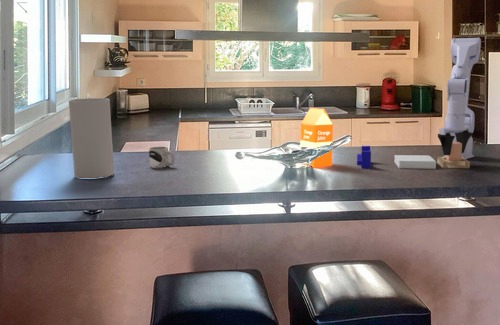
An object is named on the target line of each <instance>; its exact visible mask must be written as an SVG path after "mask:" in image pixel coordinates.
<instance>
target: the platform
mask: <svg viewBox="0 0 500 325" xmlns="http://www.w3.org/2000/svg"><path fill="white" fill-rule="evenodd" d="M394 164H395V166H397V168H398V169H428V170H429V169H430V170H431V169H434V170H436V169H437V161H436V160H435V159H434V158H433V157H431V155H426V154H425V155H424V154H423V155H419V154H418V155H417V154H416V155H413V154H412V155H411V154H409V155H407V154H406V155H405V154H404V155H403V154H401V155H399V154H394Z"/></svg>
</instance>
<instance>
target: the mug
mask: <svg viewBox="0 0 500 325" xmlns="http://www.w3.org/2000/svg"><path fill="white" fill-rule="evenodd" d="M169 155H170V157H171V161H169ZM148 156H149V160H148V161H149V167H150V166H154V167H164V166H169V167H170V166H173V165H175V160H176V159H175V153H174V152H173V151H171V150H169V147H167V146H153V147H152V146H151V147H148Z"/></svg>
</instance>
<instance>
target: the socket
mask: <svg viewBox="0 0 500 325" xmlns="http://www.w3.org/2000/svg"><path fill="white" fill-rule="evenodd" d="M436 160H437V161H436V164H438V165H439V166H440V167H441V168H442V169H470V166H471V162H470V160H468V159H465V158H463V157H461V161H447V160H446V157H443V156H437V159H436Z"/></svg>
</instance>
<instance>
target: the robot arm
mask: <svg viewBox="0 0 500 325" xmlns="http://www.w3.org/2000/svg"><path fill="white" fill-rule="evenodd" d="M481 42H482V39H481V38H480V37H466V38H465V37H460V38H456V37H453V38H452V39H451V42H450V43H451V44H450V54H451V56H450V57H451V61H452V63H453V64H454V65H452V69H451V74H450V77H449V78H450V79H449V80H448V81H447V84H446V95H447V96H446V97H447V98H446V100H447V110H446V114H445V119H444V125H443V127H442V128H439V131H438V133H437V137H438V138H437V139H438V140H439V142H440V144H441V150H442V154H443V156H442V157H446V155H448V156H449V155H450V153H451V147H452V143H453V142H460V143H462V152H461V157H463V158H465V159H466V160H468V159H471V158H474V157H475V155H473V146H474V140H473V137H472V135H473V133H474V130H475V115H476V114H475V112H474V111H473V110H472V109H471V108H469V107H468V103H469V94H470V83H471V72H472V70H473V66H474V65H475V64H477V63H479V60H480V54H481V46H482V45H481V44H482V43H481Z"/></svg>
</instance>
